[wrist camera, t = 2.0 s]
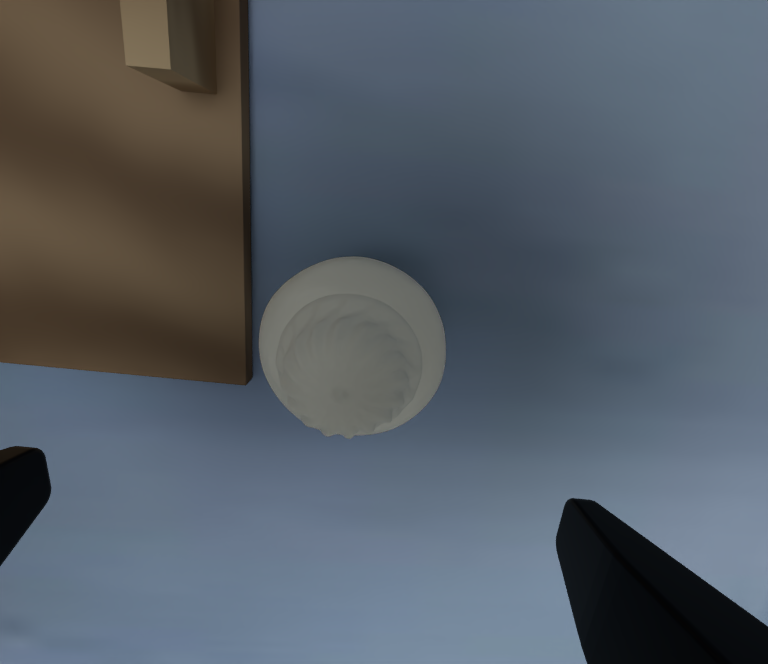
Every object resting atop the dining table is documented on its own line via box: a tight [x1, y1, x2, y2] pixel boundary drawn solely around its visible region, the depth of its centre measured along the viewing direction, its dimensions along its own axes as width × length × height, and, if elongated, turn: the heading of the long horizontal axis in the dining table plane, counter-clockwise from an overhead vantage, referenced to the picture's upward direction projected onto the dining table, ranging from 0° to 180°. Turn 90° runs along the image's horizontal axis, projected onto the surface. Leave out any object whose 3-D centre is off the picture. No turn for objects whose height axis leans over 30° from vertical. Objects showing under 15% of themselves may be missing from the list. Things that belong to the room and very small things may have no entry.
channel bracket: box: [0, 0, 252, 385], centre depth 14 cm, size 16×14×4 cm
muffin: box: [259, 256, 446, 439], centre depth 14 cm, size 6×6×7 cm
